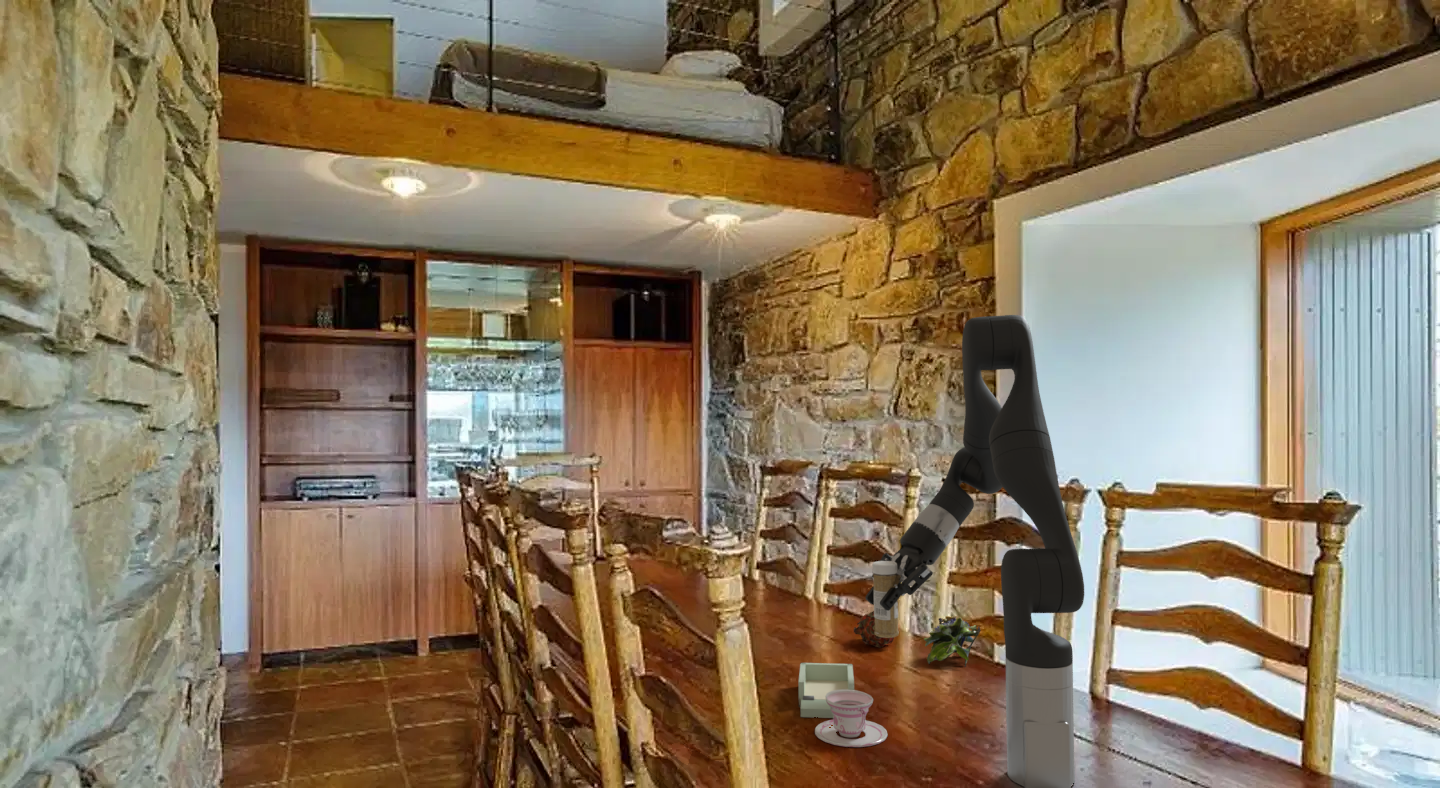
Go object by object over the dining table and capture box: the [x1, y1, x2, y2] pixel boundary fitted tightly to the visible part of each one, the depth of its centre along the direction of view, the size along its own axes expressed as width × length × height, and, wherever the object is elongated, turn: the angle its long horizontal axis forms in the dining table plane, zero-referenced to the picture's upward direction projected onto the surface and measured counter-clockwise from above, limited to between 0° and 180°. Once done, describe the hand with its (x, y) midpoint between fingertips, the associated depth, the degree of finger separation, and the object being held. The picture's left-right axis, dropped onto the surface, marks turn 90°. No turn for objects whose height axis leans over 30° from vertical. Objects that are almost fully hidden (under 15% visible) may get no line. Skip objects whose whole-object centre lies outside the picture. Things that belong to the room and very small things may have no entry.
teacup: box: [814, 689, 888, 748], centre depth 145 cm, size 12×12×6 cm
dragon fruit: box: [853, 610, 895, 649], centre depth 199 cm, size 8×8×12 cm
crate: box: [798, 662, 855, 719], centre depth 161 cm, size 17×10×4 cm, turn 173°
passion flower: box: [923, 615, 981, 668], centre depth 185 cm, size 11×11×12 cm
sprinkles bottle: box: [871, 560, 900, 638], centre depth 162 cm, size 5×5×14 cm
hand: (876, 604), depth 161 cm, fingers closed on sprinkles bottle, 4 cm apart
